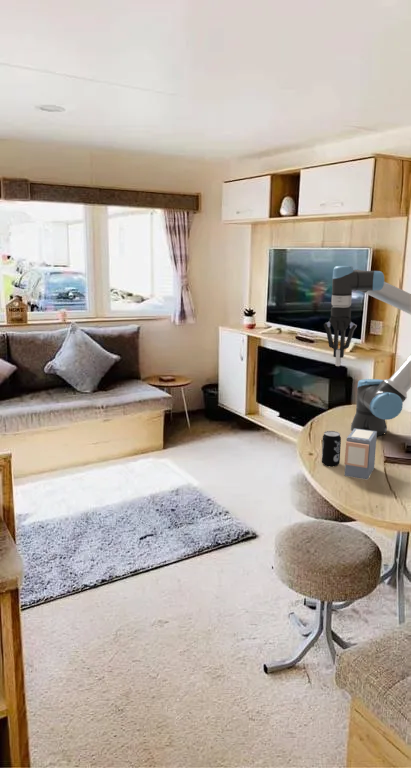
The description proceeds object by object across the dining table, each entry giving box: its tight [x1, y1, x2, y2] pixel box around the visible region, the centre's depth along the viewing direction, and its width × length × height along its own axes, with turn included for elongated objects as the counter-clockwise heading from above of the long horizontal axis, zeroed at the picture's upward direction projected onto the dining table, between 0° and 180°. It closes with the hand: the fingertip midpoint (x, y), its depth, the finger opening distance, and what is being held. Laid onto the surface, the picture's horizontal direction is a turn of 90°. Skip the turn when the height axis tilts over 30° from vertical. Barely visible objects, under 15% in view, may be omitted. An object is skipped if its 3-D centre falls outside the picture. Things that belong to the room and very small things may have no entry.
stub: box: [344, 440, 369, 468], centre depth 191 cm, size 8×8×1 cm
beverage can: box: [321, 430, 342, 468], centre depth 206 cm, size 7×7×12 cm
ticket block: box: [344, 428, 377, 481], centre depth 198 cm, size 12×8×14 cm, turn 153°
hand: (338, 365), depth 223 cm, fingers closed
